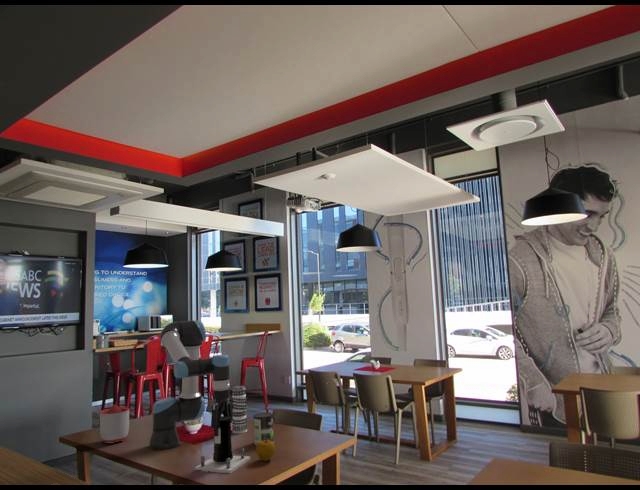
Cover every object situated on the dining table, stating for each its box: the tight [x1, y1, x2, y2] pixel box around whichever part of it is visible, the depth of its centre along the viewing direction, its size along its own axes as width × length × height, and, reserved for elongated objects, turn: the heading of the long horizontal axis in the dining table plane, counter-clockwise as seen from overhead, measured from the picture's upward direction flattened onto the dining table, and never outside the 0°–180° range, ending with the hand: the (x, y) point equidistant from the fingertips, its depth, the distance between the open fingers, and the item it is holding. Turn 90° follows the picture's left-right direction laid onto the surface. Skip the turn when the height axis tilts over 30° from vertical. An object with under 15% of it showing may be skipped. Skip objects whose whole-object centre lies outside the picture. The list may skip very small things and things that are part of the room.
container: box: [212, 415, 234, 462], centre depth 213 cm, size 9×9×18 cm
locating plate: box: [194, 448, 251, 474], centre depth 212 cm, size 18×18×5 cm
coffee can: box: [252, 412, 275, 446], centre depth 243 cm, size 10×10×14 cm
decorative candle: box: [230, 385, 249, 434], centre depth 268 cm, size 9×9×25 cm
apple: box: [255, 440, 276, 462], centre depth 215 cm, size 9×9×9 cm
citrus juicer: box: [98, 404, 130, 443], centre depth 261 cm, size 16×17×20 cm
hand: (222, 440), depth 213 cm, fingers closed on container, 8 cm apart
